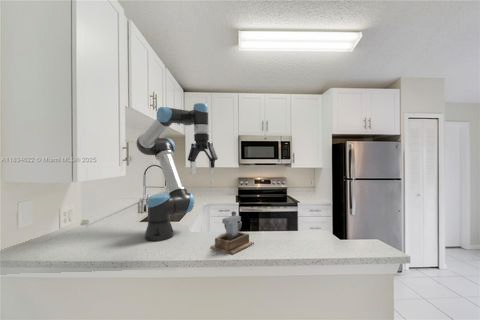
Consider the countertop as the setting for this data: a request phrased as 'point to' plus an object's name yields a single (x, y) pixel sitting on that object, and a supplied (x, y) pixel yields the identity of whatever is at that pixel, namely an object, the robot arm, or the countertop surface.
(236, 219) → the bracket
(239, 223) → the mortar and pestle
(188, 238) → the countertop surface
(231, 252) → the wooden box
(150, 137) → the robot arm
